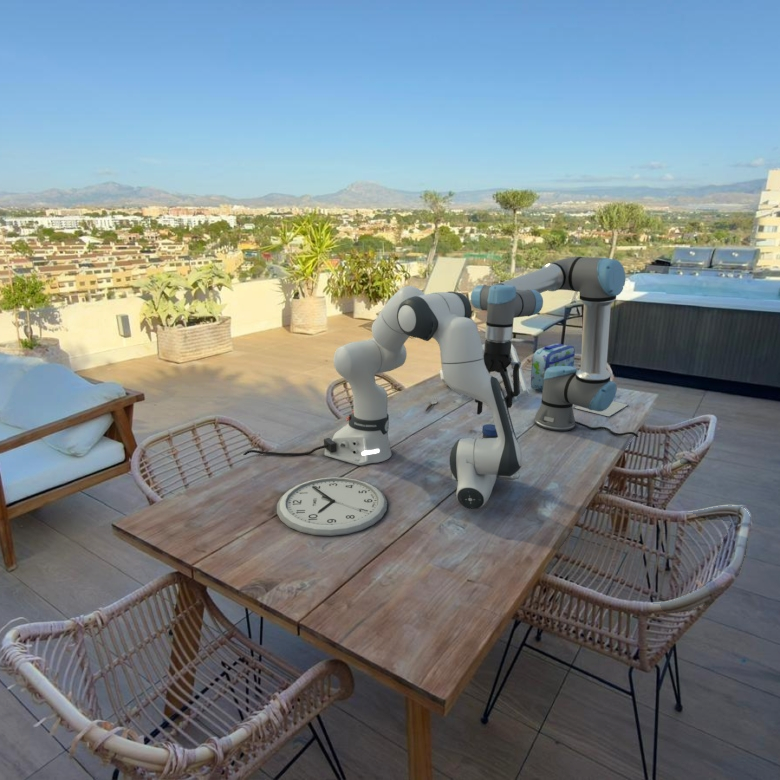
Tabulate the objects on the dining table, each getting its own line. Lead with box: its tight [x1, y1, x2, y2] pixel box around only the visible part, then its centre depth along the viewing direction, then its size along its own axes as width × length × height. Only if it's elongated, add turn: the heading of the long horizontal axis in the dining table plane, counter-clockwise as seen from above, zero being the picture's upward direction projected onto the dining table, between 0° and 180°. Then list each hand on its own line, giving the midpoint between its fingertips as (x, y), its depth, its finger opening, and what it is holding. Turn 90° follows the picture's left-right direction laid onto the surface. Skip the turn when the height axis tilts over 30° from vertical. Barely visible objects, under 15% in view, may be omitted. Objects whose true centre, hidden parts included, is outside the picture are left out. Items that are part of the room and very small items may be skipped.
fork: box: [425, 396, 439, 412], centre depth 222 cm, size 3×16×2 cm, turn 160°
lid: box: [481, 423, 498, 436], centre depth 158 cm, size 5×5×2 cm
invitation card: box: [573, 400, 629, 418], centre depth 226 cm, size 21×1×15 cm
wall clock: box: [276, 476, 388, 537], centre depth 142 cm, size 30×2×30 cm
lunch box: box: [530, 343, 576, 391], centre depth 249 cm, size 26×11×21 cm, turn 134°
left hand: (489, 454), depth 161 cm, fingers open, 7 cm apart
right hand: (492, 415), depth 157 cm, fingers open, 7 cm apart
